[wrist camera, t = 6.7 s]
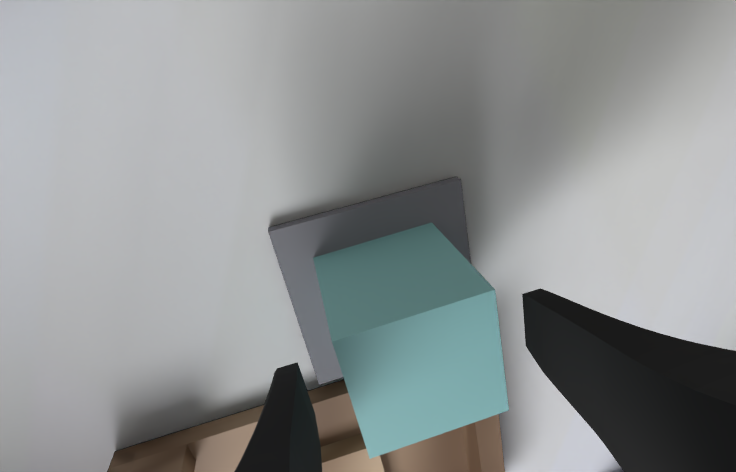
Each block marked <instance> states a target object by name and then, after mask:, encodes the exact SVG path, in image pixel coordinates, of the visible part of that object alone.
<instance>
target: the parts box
mask: <svg viewBox="0 0 736 472" xmlns="http://www.w3.org/2000/svg"><path fill="white" fill-rule="evenodd" d="M307 392H308V394H309V397H310V400H311V403H312V406H313V409H314V412H315V416H316V422H317V427H318V433H319V439H320V445H321V459H322V472H505V469H504V460H503V451H502V441H501V432H500V422H499V414H497V415H494V416H491V417H488V418H486V419H483V420H480V421H477V422H474V423H471V424H468V425H465V426H463V427H460V428H457V429H454V430H451V431H448V432H445V433H443V434H440V435H437V436H434V437H431V438H428V439H425V440H422V441H420V442H417V443H414V444H411V445H408V446H405V447H402V448H400V449H397V450H394V451H391V452H388V453H385V454H382V455H379V456H377V457H374V458H371V459H370V458H369V455H368V452H367V449H366V446H365V443H364V439H363V436H362V433H361V430H360V427H359V424H358V421H357V418H356V415H355V412H354V408H353V405H352V402H351V399H350V396H349V393H348V390H347V387H346V384H345V381H344V380H342V381H339V382H335V383H332V384H329V385H326V386H323V387H320V388H316V389H313V390H310V391H307ZM263 407H264V405H262V406H259V407H256V408H252V409H249V410H246V411H243V412H240V413H237V414H233V415H230V416H227V417H224V418H221V419H217V420H214V421H211V422H208V423H205V424H201V425H198V426H195V427H192V428H189V429H185V430H182V431H179V432H176V433H173V434H169V435H166V436H163V437H160V438H157V439H154V440H150V441H147V442H144V443H141V444H138V445H134V446H131V447H128V448H125V449H122V450H118V451H115V452H114V455H113V458H112V460H111V463H110V466H109V468H108V471H107V472H234V471H235V470H236V468H237V466H238V464H239V462H240V460H241V458H242V456H243V454H244V452H245V450H246V447H247V445H248V443H249V441H250V439H251V437H252V434H253V432H254V430H255V428H256V425H257V423H258V420H259V417H260V415H261V412H262V410H263Z"/></svg>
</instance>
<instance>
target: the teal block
mask: <svg viewBox="0 0 736 472" xmlns="http://www.w3.org/2000/svg"><path fill="white" fill-rule="evenodd" d="M313 260H314V264H315V269H316V273H317V278H318V282H319V287H320V291H321V295H322V300H323V304H324V309H325V313H326V318H327V322H328V326H329V331H330V335H331V340H332V343H333V347H334V350H335V353H336V356H337V359H338V362H339V365H340V368H341V371H342V374H343V378H344V381H345V384H346V387H347V390H348V393H349V396H350V399H351V402H352V405H353V408H354V412H355V415H356V418H357V421H358V424H359V427H360V430H361V433H362V436H363V439H364V443H365V446H366V449H367V452H368V455H369V458H370V459H371V458H374V457H377V456H379V455H382V454H385V453H388V452H391V451H394V450H397V449H400V448H402V447H405V446H408V445H411V444H414V443H417V442H420V441H422V440H425V439H428V438H431V437H434V436H437V435H440V434H443V433H445V432H448V431H451V430H454V429H457V428H460V427H463V426H465V425H468V424H471V423H474V422H477V421H480V420H483V419H486V418H488V417H491V416H494V415H497V414H500V413H503V412H506V411H508V410H509V407H508V398H507V390H506V381H505V372H504V364H503V355H502V346H501V338H500V329H499V320H498V312H497V303H496V294H495V289H494V288H493V287H492V286H491V285H490V284H489V283H488V282H487V281H486V280H485V279H484V277H483V276H482V275H481V274H480V273H479V272H478V271H477V270H476V269H475V268H474V267H473V266H472V265H471V264H470V263H469V262H468V260H467V259H466V258H465V257H464V256H463V255H462V254H461V253H460V252H459V251H458V250H457V249H456V248H455V247H454V246H453V244H452V243H451V242H450V241H449V240H448V239H447V238H446V237H445V236H444V235H443V234H442V233H441V232H440V231H439V230H438V229H437V227H436V226H435V225H434V224H433V223H432V222H431V223H428V224H425V225H421V226H418V227H415V228H411V229H408V230H404V231H401V232H398V233H394V234H391V235H388V236H384V237H381V238H378V239H374V240H371V241H368V242H364V243H361V244H358V245H354V246H351V247H347V248H344V249H341V250H337V251H334V252H331V253H327V254H324V255H321V256H317V257H314V258H313Z"/></svg>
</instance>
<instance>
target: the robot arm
mask: <svg viewBox="0 0 736 472" xmlns="http://www.w3.org/2000/svg"><path fill="white" fill-rule="evenodd" d="M523 309H524V324H525V339H526V347H527V348H528V350H529V351H530V353H531V354H532V356H533V358H534V359H535V361H536V362H537V364H538V365H539V367H540V368H541V369H542V371H543V372H544V374H545V375H546V376H547V377H548V378H549V380H550V381H551V382H552V383H553V384H554V385H555V387H556V388H557V389H558V390H559V391H560V392H561V394H562V395H563V396H564V397H565V398H566V399H567V400H568V402H569V403H570V404H571V405H572V406H573V407H574V408H575V410H576V411H577V412H578V413H579V414H580V415H581V416H582V418H583V419H584V420H585V421H586V422H587V423H588V424H589V426H590V427H591V428H592V429H593V430H594V431H595V433H596V434H597V435H598V436H599V438H600V439H601V440H602V441H603V443H604V444H605V445H606V447H607V448H608V450H609V451H610V452H611V454H612V455H613V457H614V458H615V459H616V461H617V462H618V464H619V465H620V466H621V468H622V469H623V471H624V472H736V351H733V350H727V349H722V348H717V347H712V346H708V345H703V344H698V343H694V342H690V341H686V340H682V339H678V338H674V337H671V336H667V335H663V334H660V333H656V332H653V331H650V330H647V329H643V328H640V327H638V326H635V325H632V324H629V323H626V322H623V321H620V320H618V319H615V318H612V317H610V316H607V315H604V314H602V313H599V312H597V311H594V310H592V309H589V308H587V307H585V306H582V305H580V304H577V303H575V302H573V301H570V300H568V299H565V298H563V297H561V296H558V295H556V294H553V293H551V292H548V291H546V290H543V289H538V290H534V291H531V292H528V293H525V294H523ZM234 472H322V459H321V445H320V439H319V433H318V427H317V422H316V416H315V412H314V409H313V406H312V403H311V400H310V397H309V394H308V392H307V389H306V386H305V383H304V380H303V377H302V374H301V371H300V369H299V366H298V363H294V364H291V365H287V366H284V367H281V368H277V370H276V371H275V373H274V377H273V380H272V384H271V387H270V390H269V393H268V396H267V399H266V402H265V405H264V407H263V410H262V412H261V415H260V417H259V420H258V423H257V425H256V428H255V430H254V432H253V434H252V437H251V439H250V441H249V443H248V445H247V447H246V450H245V452H244V454H243V456H242V458H241V460H240V462H239V464H238V466H237V468H236V470H235V471H234Z"/></svg>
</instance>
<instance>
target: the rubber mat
mask: <svg viewBox="0 0 736 472" xmlns="http://www.w3.org/2000/svg"><path fill="white" fill-rule="evenodd" d="M431 222H432V223H433V224H434V225H435V226H436V227H437V229H438V230H439V231H440V232H441V233H442V234H443V235H444V236H445V237H446V238H447V239H448V240H449V241H450V242H451V243H452V244H453V246H454V247H455V248H456V249H457V250H458V251H459V252H460V253H461V254H462V255H463V256H464V257H465V258H466V259H467V260H468V262H469V263H470V264H471V260H470V252H469V243H468V235H467V227H466V218H465V210H464V201H463V193H462V185H461V179H459V178H458V177H454V178H450V179H446V180H443V181H439V182H435V183H432V184H428V185H424V186H421V187H417V188H413V189H409V190H406V191H402V192H398V193H395V194H391V195H387V196H384V197H380V198H376V199H373V200H369V201H365V202H361V203H358V204H354V205H350V206H347V207H343V208H339V209H336V210H332V211H328V212H324V213H321V214H317V215H313V216H310V217H306V218H302V219H299V220H295V221H291V222H288V223H284V224H280V225H276V226H273V227H269V228H268V232H269V235H270V238H271V241H272V244H273V247H274V250H275V253H276V256H277V259H278V262H279V265H280V268H281V271H282V274H283V277H284V280H285V283H286V286H287V289H288V292H289V296H290V299H291V302H292V305H293V308H294V311H295V314H296V317H297V320H298V323H299V326H300V329H301V332H302V335H303V338H304V341H305V344H306V347H307V350H308V353H309V356H310V359H311V362H312V365H313V368H314V371H315V374H316V377H317V380H318V383H319V385H320V384H323V383H326V382H329V381H333V380H336V379H339V378H342V377H343V374H342V371H341V368H340V365H339V362H338V359H337V356H336V353H335V350H334V347H333V343H332V340H331V335H330V331H329V326H328V322H327V318H326V313H325V309H324V304H323V300H322V295H321V291H320V287H319V282H318V278H317V273H316V269H315V264H314V260H313V258H314V257H317V256H321V255H324V254H327V253H331V252H334V251H337V250H341V249H344V248H347V247H351V246H354V245H358V244H361V243H364V242H368V241H371V240H374V239H378V238H381V237H384V236H388V235H391V234H394V233H398V232H401V231H404V230H408V229H411V228H415V227H418V226H421V225H425V224H428V223H431Z"/></svg>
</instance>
